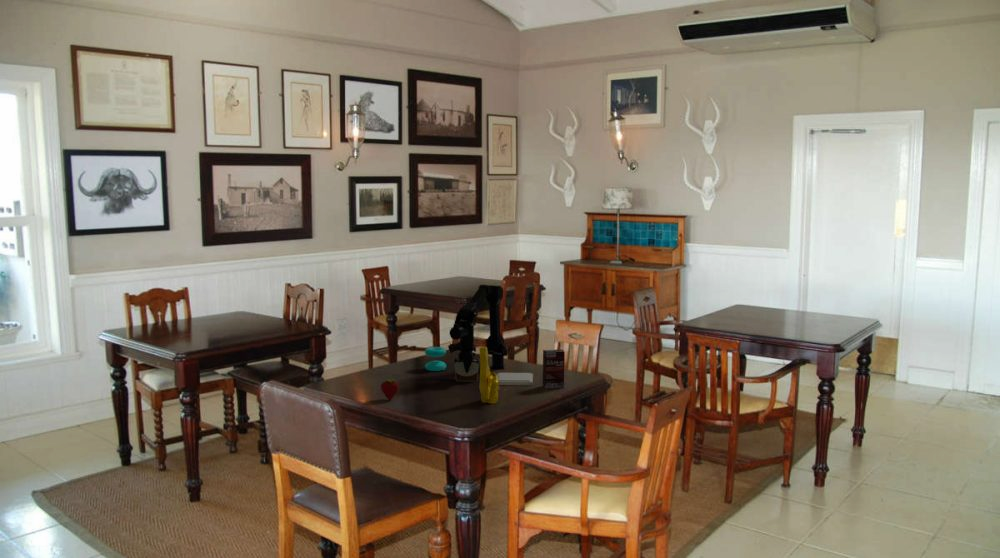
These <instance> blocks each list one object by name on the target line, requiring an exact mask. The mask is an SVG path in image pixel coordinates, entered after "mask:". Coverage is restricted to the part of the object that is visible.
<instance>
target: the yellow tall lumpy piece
mask: <svg viewBox="0 0 1000 558" xmlns="http://www.w3.org/2000/svg"><path fill="white" fill-rule="evenodd" d="M479 360H480V363H479V365H480V366H479V391H480V398H481V403H484V404H485V403H488V404H493V405H494V403H495V404H496V403H498V400H499V392H498V391H499V390H500V389H501V387H500V385H498V380H497V373H494V372H493V371H491V367H490V364H489V355H488V350H487V347H486V346H481V347H479Z"/></svg>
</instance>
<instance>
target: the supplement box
mask: <svg viewBox="0 0 1000 558" xmlns="http://www.w3.org/2000/svg"><path fill="white" fill-rule="evenodd" d="M565 357H566V356H565V351H564V350H563V349H542V387H543V386H544V387H545V388H544V387H543V388H544V389H559V388H560V389H561V387H565V360H566V359H565Z"/></svg>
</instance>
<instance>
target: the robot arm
mask: <svg viewBox="0 0 1000 558" xmlns="http://www.w3.org/2000/svg"><path fill="white" fill-rule="evenodd" d="M503 295H504V288H503V287H502V286H501V285H493V284H492V285H491V284H480V285H479V286H478V289H477V290H476V291H475V294H473V296H472V298H471V299H470V300H469V302H468V303H465V304H464V305H462V306H461V307H460V308H459V309H458V312H457V315H456V318H455V320H454V323H453V326H452V327H451V328H450V330H449V336H450V338H451V339H452V340H455V341H457V340H459V341H457V342H452V343H450V344H448V346H447V348H448V351H449V353H450V354H453V353H455V352H457V351H460V352H459V353H458V359H460V360H462V361H463V364H464V368H465V372H466V373H468V371H469V369H470V366H471V363H472V360H473V357H475V355H476V352H477V346H476V345H475V336H474V335H475V330H474V329H475V326H476V322H475V320H476V319H477V316H478V314H479V312H478V310H479V309H480V307H481V305H482V304H483V303H484V301H485V300H486V302H487V303H488V311H489V312H488V313H489V316H488V318H489V336H488V337H487V338H486V340H485V342H486V343H485V347H487V350H488V356H489V355H490V356H491V365H490V370H493V369H494V370H495V369H496V370H498V369H499V370H500V369H501V370H504V369H505V367H506V364H504V363H505V358H504V357H506V356H508V354H509V349H508V347H507V346H506V344H505V338H504V337H503V335H502V333H501V311H500V310H501V309H500V308H501V307H500V304H501V301H502V300H503V297H504V296H503Z"/></svg>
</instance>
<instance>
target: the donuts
mask: <svg viewBox="0 0 1000 558" xmlns="http://www.w3.org/2000/svg"><path fill="white" fill-rule="evenodd" d="M446 353H447V349H446V348H444V347H442V346H431V347H427V348H426V349H425V350H424V354H425V355H426V356H427V357H431V358H440V357H444V356H445V355H446ZM424 368H425V370H426V371H429V372H442V371H444V370H446V369H447V363H445V361H441V360H430V361H428V362H427V363H425V365H424ZM441 370H442V371H441Z"/></svg>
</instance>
